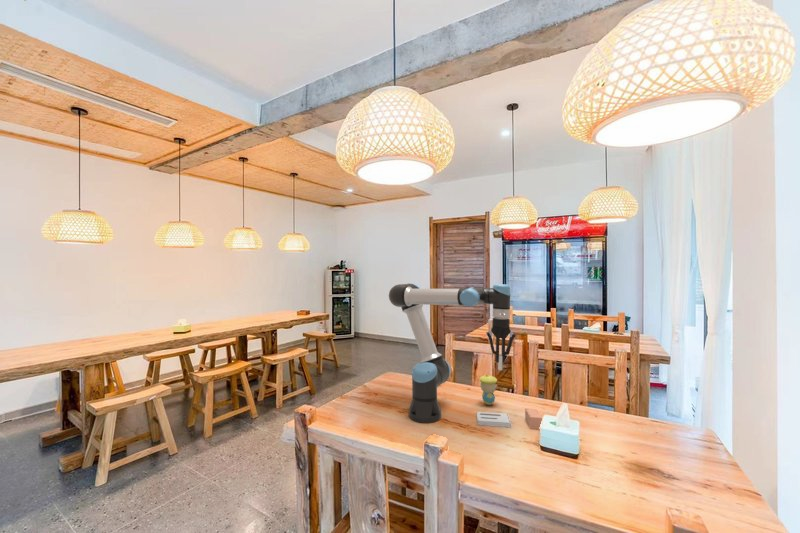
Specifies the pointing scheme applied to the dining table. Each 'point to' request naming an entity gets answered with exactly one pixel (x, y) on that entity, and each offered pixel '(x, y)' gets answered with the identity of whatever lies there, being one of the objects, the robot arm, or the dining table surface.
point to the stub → (533, 418)
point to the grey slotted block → (493, 419)
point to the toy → (488, 388)
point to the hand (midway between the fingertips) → (500, 369)
